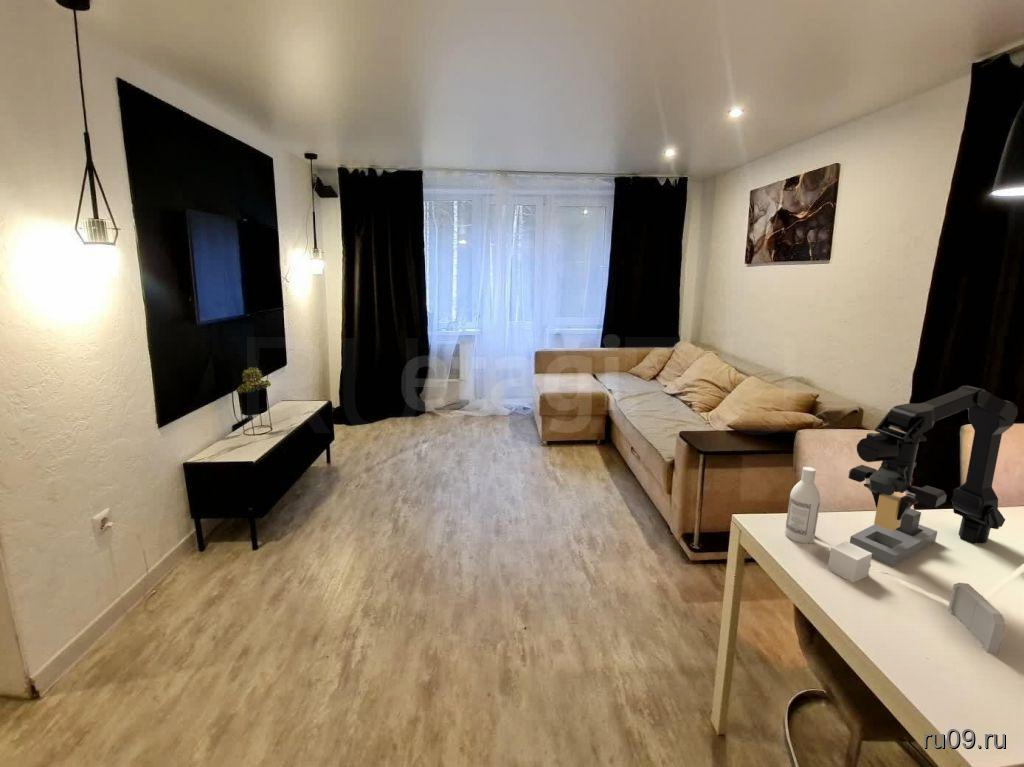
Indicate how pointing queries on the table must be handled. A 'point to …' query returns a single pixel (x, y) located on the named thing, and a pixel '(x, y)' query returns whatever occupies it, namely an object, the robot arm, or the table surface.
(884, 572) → the table surface
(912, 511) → the dark gray plug
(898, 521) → the amber plug
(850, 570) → the white cube
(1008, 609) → the table surface
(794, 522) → the bath foam
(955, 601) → the light switch
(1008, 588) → the table surface
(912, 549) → the grey piece
